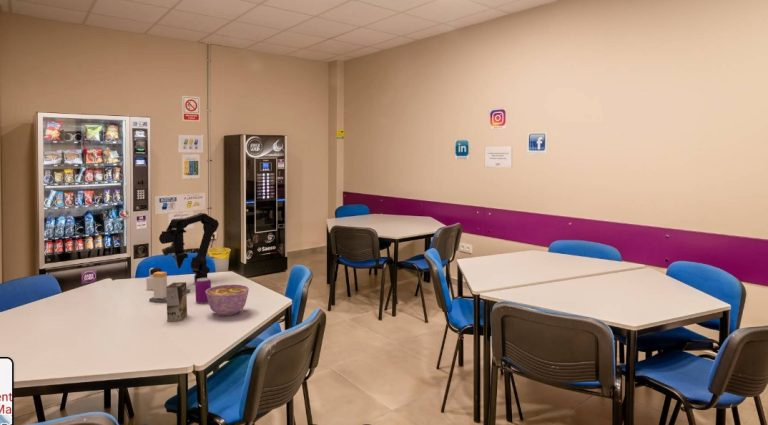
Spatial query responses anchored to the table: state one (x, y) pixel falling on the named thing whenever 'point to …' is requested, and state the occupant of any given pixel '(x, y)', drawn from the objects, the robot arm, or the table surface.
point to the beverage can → (202, 289)
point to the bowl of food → (227, 298)
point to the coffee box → (176, 301)
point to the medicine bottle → (151, 278)
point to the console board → (162, 299)
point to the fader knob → (160, 284)
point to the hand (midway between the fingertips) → (179, 268)
